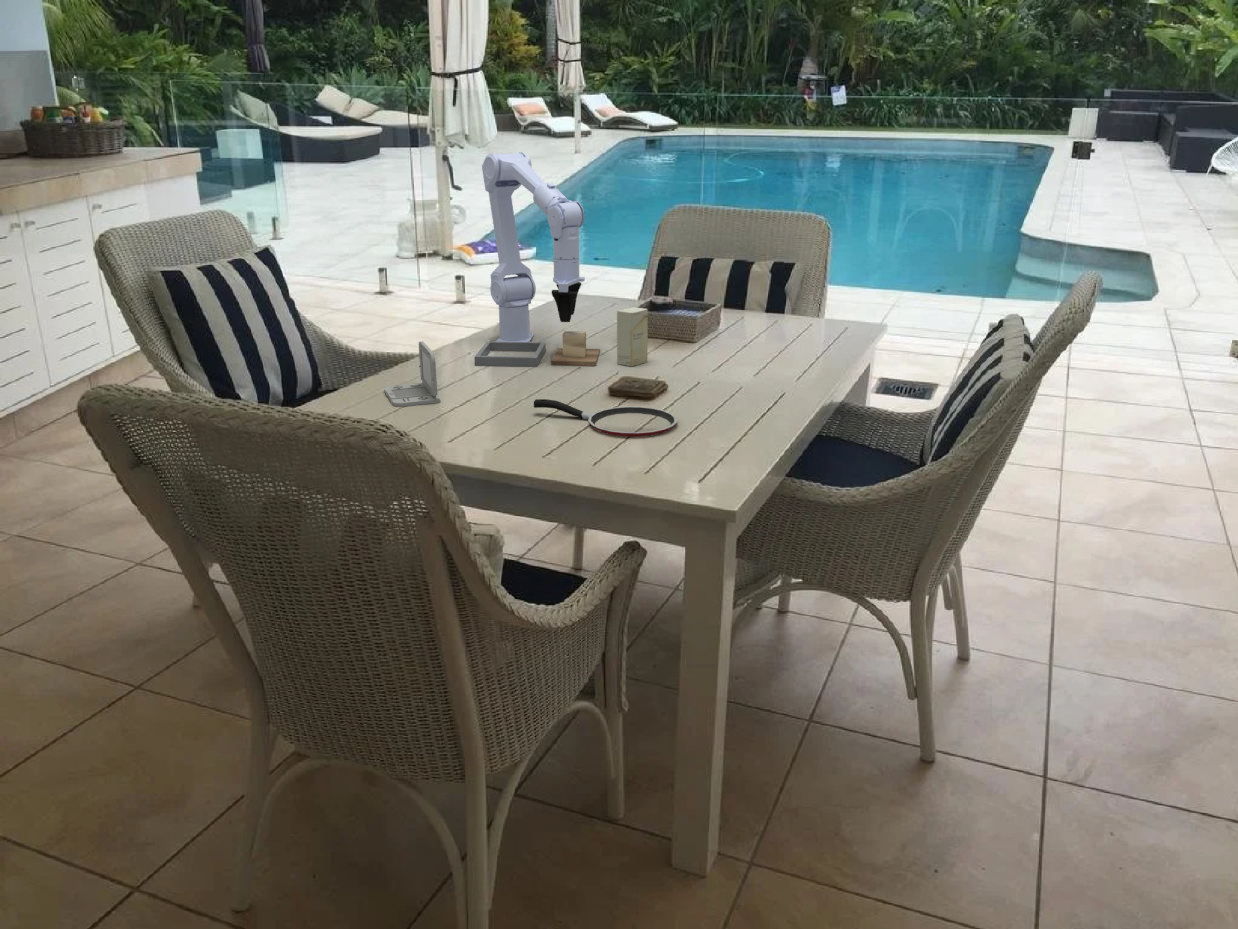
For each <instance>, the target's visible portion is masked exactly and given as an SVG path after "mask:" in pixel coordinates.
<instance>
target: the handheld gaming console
mask: <svg viewBox="0 0 1238 929" xmlns="http://www.w3.org/2000/svg"><path fill="white" fill-rule="evenodd" d="M418 355H419V356H418V357H419V366H418V367H419V370H420V373H419V374H420V381H421V382H413V383H411V384H409V383H407V384H398V385H387V386H385V387H384V388H383V390H384V391H383V392H384V394H385V395H386V397H387V398H388V400H389V401H390V403H391V405H392V406H394V407H400V408H401V407H403V408H404V407H412V406H421V405H430V404H440V403H441V399H440V397H439V396H438V382H437V365H436V364H437V363H436V356H435V353H434V351H432V349H431V348H430V347H429V346H428V345H427V344H426V343H425V342H424V341H423V340H422V341H418Z"/></svg>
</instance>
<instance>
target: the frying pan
mask: <svg viewBox="0 0 1238 929" xmlns="http://www.w3.org/2000/svg"><path fill="white" fill-rule="evenodd" d="M533 408H535V409H537V408H538V409H539V408H540V409H541V408H546V409H547V408H548V409H555V410H558V411H560V412H563V413H566V414H568V415H571V416H573V417H577V418H581V419H583V420H587V421H588V422H589V423H590V425H591V426H592V427H593V429H595V430H596V431H598V432H600V433H603V434H604V435H605V434H606V435H611V436H614V437H615V436H616V437H622V438H623V437H625V438H642V437H643V438H644V437H651V436H656V435H661V434H663V433H665V432H668V431H670V430H671V429H672V428H673V427H674V426H675V425H676V424H677V422H678V421H677V420H678V417H676V415H674V414H673V413H671V412H669V411H666V410H664V409H659V408H655V407H646V406H617V407H616V406H615V407H609V408H604V409H601V410H598V411H596V412H593V413H590V412H587V411H582V410H580V409H577V408H576V407H573V406H571V405H569V404H566V403H564V402H561V401H558V400H555V399H548V398H547V399H541V398H540V399H537V398H536V399H535V400H534V401H533ZM622 414H624V415H625V414H640V415H641V414H642V415H651V416H656V417H659V418H662V419H664V420H667V422H669V423H670V424H669V425H668V426H666V427H664V428H660V429H655V430H650V431H649V430H647V431H640V432H638V431H635V432H633V431H626V432H625V431H618V430H610V429H607V428H602V427H600V426H599V425H596V423H597V421H599V420H602V419H603V418H606V417H609V416H614V415H622Z"/></svg>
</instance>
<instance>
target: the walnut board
mask: <svg viewBox="0 0 1238 929" xmlns="http://www.w3.org/2000/svg"><path fill="white" fill-rule="evenodd" d="M600 354H601V348H586V355H585V357H563V347H562V348H561V347H557V348H556V351H554V355H553V356H552V359H551V360H550V366H570V367H571V366H576V367H596V366H597V363H598V360H599V357H600Z"/></svg>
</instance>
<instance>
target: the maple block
mask: <svg viewBox="0 0 1238 929" xmlns="http://www.w3.org/2000/svg"><path fill="white" fill-rule="evenodd" d="M562 348H563V357H585V355H586V349H587V331H583V330H582V331H579V330H577V331H573V330H571V331H570V330H568V331H567V330H563V333H562Z"/></svg>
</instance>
